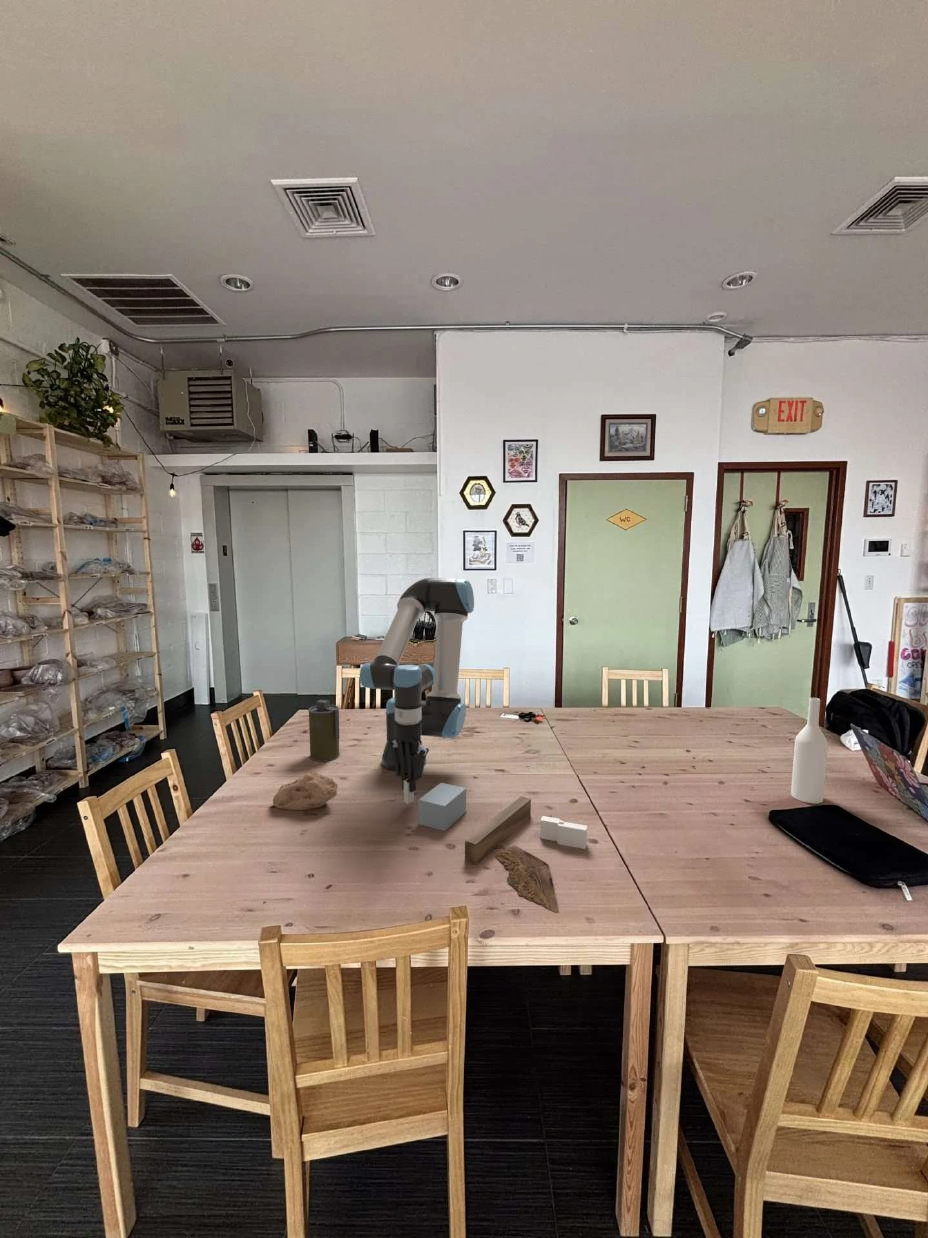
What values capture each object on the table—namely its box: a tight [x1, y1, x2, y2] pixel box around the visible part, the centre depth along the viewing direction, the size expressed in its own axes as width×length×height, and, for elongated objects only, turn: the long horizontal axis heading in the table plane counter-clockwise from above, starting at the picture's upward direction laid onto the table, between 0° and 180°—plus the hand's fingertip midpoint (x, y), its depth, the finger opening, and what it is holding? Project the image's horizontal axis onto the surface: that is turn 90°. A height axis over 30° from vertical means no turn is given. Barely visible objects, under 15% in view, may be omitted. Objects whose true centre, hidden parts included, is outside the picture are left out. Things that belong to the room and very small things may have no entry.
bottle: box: [790, 697, 829, 805], centre depth 158 cm, size 8×8×30 cm
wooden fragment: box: [494, 843, 560, 914], centre depth 121 cm, size 26×11×1 cm, turn 13°
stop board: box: [464, 795, 532, 865], centre depth 137 cm, size 3×28×5 cm, turn 146°
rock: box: [272, 771, 339, 811], centre depth 154 cm, size 18×10×10 cm, turn 96°
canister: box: [307, 699, 341, 762], centre depth 191 cm, size 11×10×20 cm
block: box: [418, 782, 467, 832], centre depth 147 cm, size 8×12×7 cm, turn 153°
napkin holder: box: [539, 815, 588, 850], centre depth 136 cm, size 15×11×6 cm
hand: (409, 801), depth 154 cm, fingers closed
